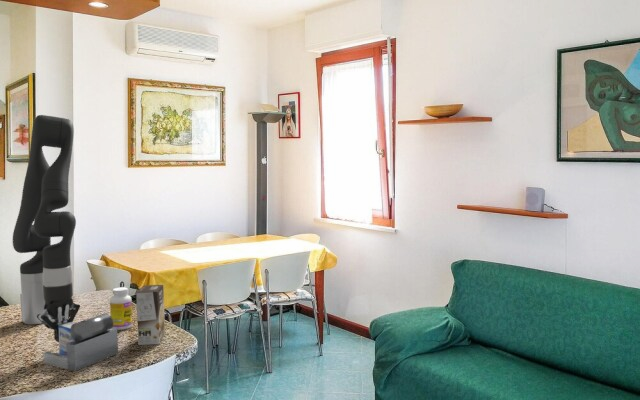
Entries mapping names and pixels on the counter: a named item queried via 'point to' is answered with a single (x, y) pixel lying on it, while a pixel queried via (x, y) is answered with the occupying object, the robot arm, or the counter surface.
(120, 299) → the supplement bottle
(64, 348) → the medicine box
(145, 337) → the coffee box
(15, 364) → the counter surface
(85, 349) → the motor dock
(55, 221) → the robot arm
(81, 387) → the counter surface
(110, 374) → the counter surface
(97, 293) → the counter surface
